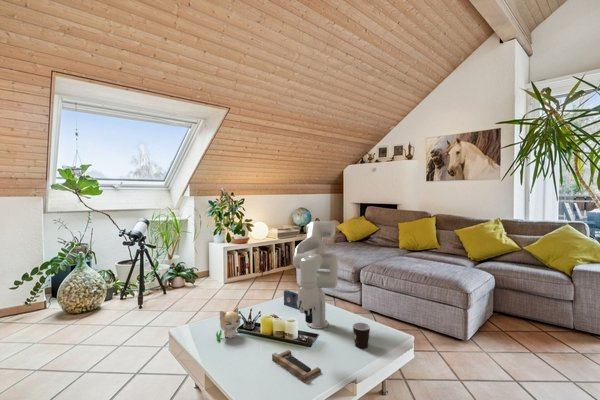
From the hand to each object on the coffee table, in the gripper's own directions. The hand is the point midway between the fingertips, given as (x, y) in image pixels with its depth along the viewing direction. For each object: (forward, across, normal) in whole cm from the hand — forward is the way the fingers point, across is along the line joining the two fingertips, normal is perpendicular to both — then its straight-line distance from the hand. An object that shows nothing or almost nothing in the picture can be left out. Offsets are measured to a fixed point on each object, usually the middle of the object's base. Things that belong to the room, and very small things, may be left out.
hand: (308, 322), depth 145 cm
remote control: (+18, +8, +1) cm, 20 cm away
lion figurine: (+18, -6, -31) cm, 36 cm away
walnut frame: (+17, +8, +1) cm, 19 cm away
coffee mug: (+18, -29, +8) cm, 35 cm away
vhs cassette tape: (+19, -35, -53) cm, 66 cm away
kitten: (+18, +18, -45) cm, 52 cm away
